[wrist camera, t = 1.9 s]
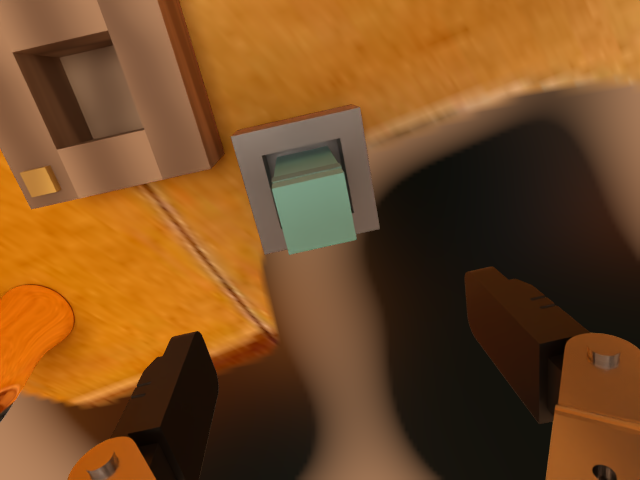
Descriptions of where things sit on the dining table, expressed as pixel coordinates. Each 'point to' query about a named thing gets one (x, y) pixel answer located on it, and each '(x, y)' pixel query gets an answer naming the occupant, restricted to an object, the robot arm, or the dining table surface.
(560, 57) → the dining table surface
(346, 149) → the grey square frame
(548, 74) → the dining table surface
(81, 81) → the port
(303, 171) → the plug
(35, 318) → the beer glass
